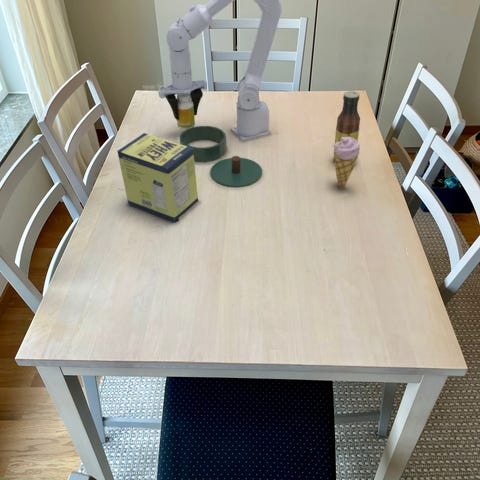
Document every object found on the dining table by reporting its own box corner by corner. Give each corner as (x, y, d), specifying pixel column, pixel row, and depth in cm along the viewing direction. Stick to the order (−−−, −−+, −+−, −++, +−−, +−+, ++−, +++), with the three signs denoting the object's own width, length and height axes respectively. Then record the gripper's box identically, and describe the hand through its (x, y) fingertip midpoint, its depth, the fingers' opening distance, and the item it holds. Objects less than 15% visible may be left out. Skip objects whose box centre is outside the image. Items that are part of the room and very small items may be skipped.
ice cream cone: (324, 189, 133) (330, 137, 122) (332, 178, 137) (339, 127, 126) (348, 196, 131) (357, 143, 120) (355, 184, 134) (365, 132, 124)
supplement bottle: (194, 129, 152) (191, 98, 145) (176, 129, 152) (173, 98, 145) (195, 121, 155) (193, 90, 148) (178, 121, 155) (175, 90, 149)
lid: (247, 156, 145) (247, 140, 141) (271, 180, 136) (272, 164, 132) (202, 168, 141) (201, 152, 137) (224, 194, 132) (223, 177, 128)
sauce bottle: (353, 157, 144) (365, 89, 130) (355, 168, 140) (367, 99, 126) (331, 156, 145) (340, 88, 130) (331, 167, 140) (341, 98, 126)
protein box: (151, 185, 135) (143, 131, 124) (199, 202, 129) (194, 147, 118) (126, 204, 129) (115, 150, 118) (175, 223, 123) (168, 168, 112)
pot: (214, 136, 153) (214, 121, 150) (234, 156, 145) (234, 141, 142) (174, 146, 149) (172, 131, 146) (191, 168, 141) (190, 153, 137)
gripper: (162, 80, 137) (167, 127, 147) (210, 70, 141) (212, 116, 151) (153, 71, 141) (159, 117, 151) (200, 62, 146) (203, 107, 155)
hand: (185, 116), depth 151 cm, fingers closed on supplement bottle, 5 cm apart
